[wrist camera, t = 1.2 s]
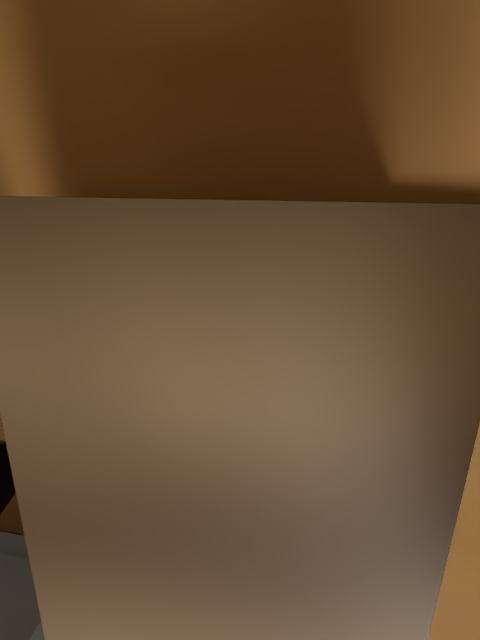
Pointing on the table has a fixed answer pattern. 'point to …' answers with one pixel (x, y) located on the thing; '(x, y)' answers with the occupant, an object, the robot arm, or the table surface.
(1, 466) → the robot arm
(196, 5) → the table surface
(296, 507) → the brown rectangular block
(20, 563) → the light blue box
